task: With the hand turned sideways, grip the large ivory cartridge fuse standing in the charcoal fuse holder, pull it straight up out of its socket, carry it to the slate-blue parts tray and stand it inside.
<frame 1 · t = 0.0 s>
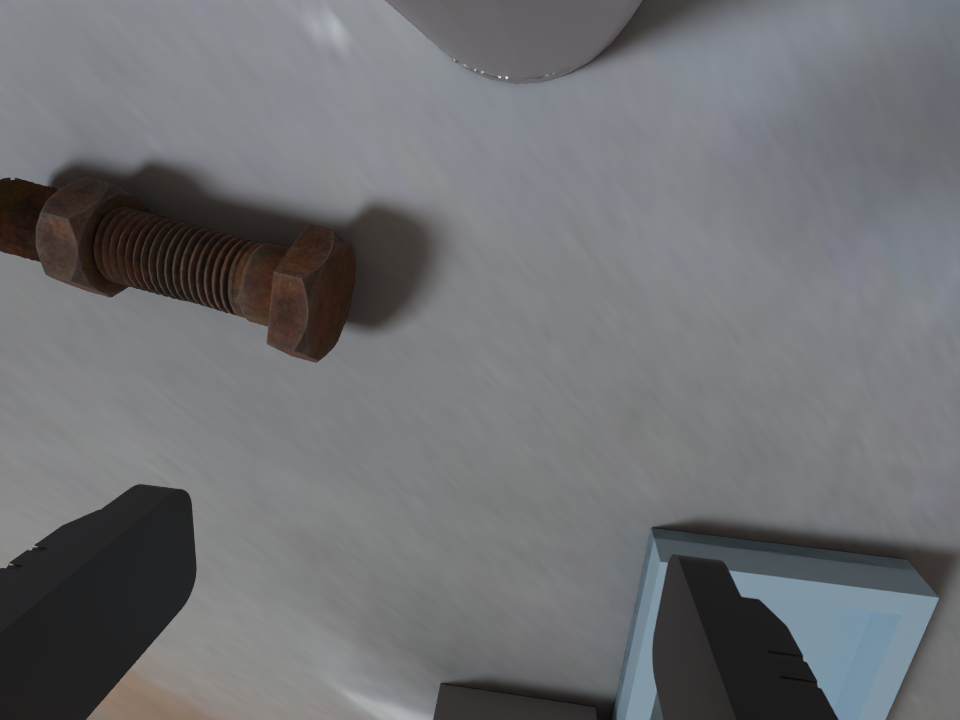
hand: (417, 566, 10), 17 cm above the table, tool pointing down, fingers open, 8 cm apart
parts tray: (743, 652, 31), on the table
bolt: (198, 244, 27), on the table
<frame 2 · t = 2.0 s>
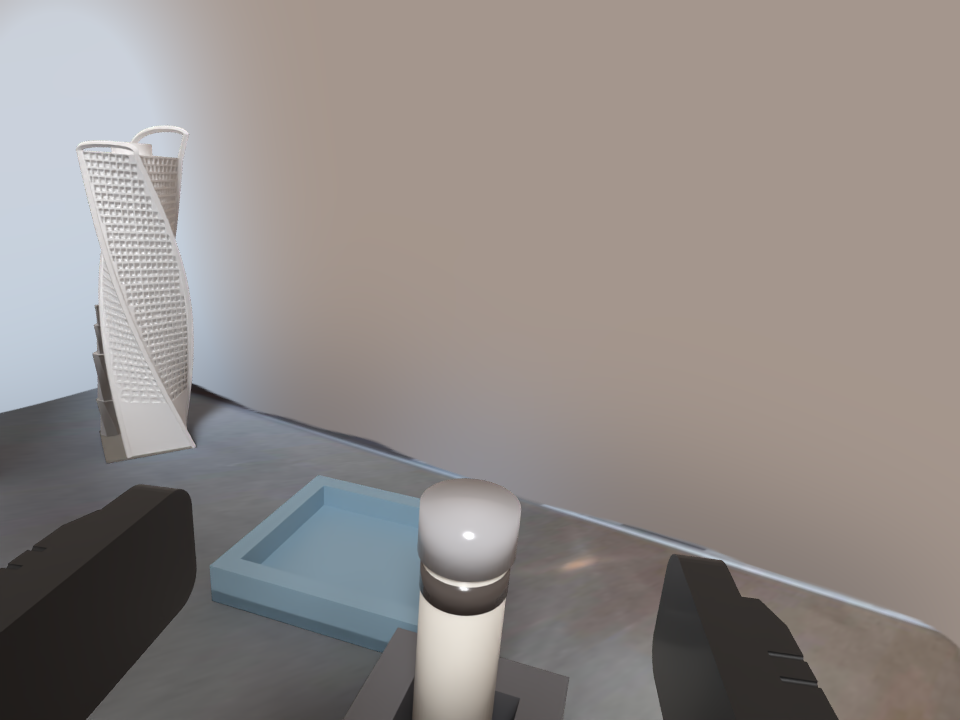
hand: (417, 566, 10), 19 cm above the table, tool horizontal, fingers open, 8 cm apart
fuse: (457, 653, 24), in the fuse holder
parts tray: (363, 569, 39), on the table
skyscraper: (157, 445, 54), on the table
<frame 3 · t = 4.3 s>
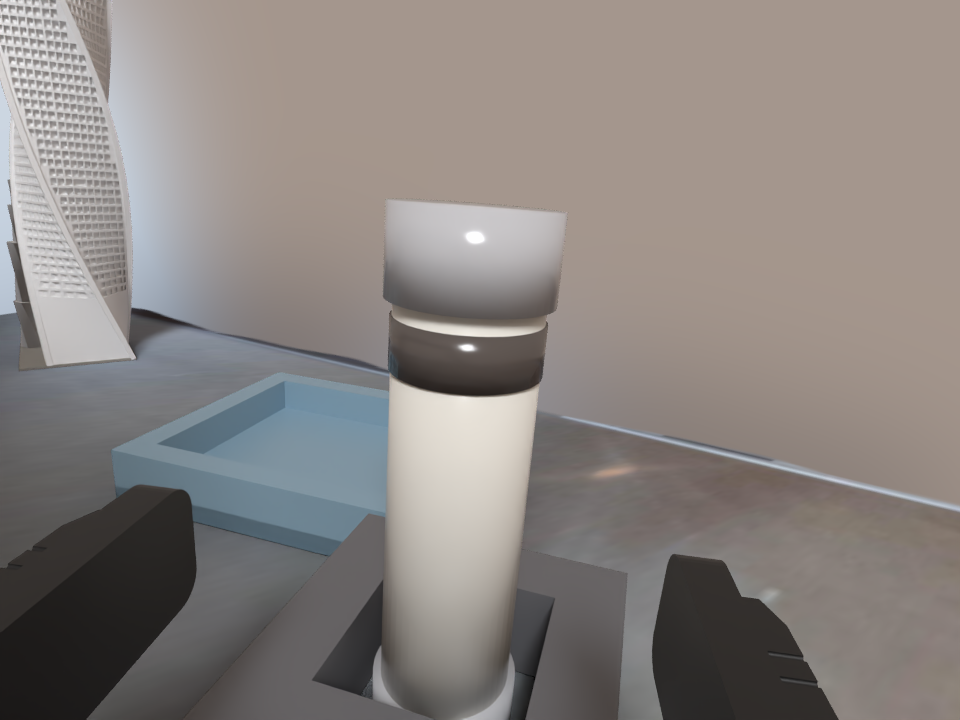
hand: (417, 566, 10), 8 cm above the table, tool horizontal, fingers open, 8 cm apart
fuse: (456, 500, 14), in the fuse holder
parts tray: (330, 473, 29), on the table
skyscraper: (90, 359, 45), on the table
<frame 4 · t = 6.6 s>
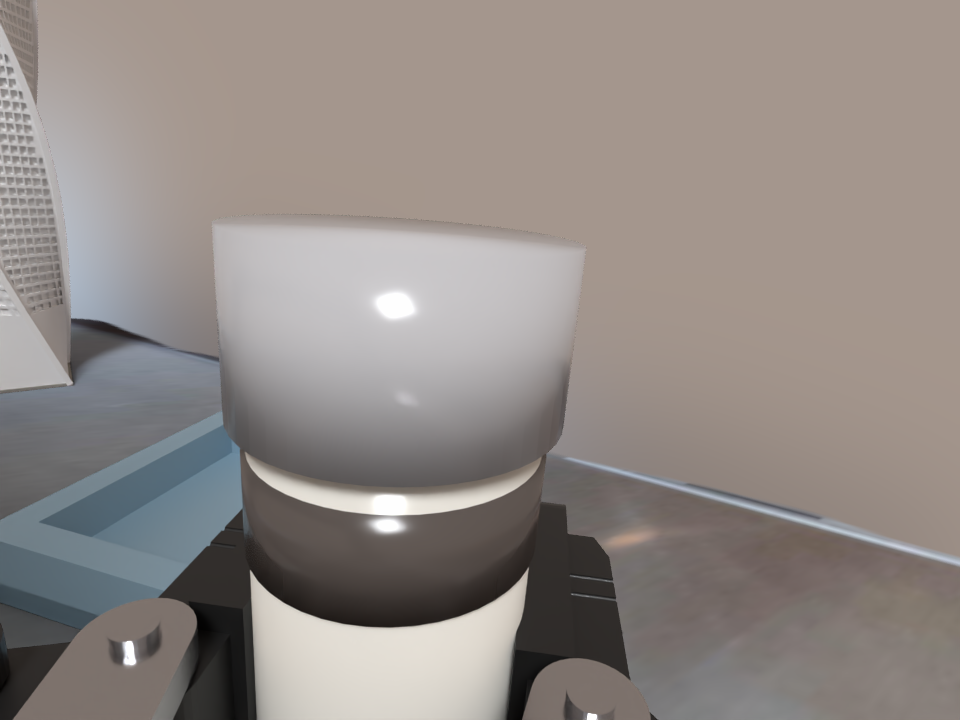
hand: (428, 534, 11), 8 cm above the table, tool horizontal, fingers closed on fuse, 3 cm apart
parts tray: (275, 546, 23), on the table
skyscraper: (21, 384, 39), on the table
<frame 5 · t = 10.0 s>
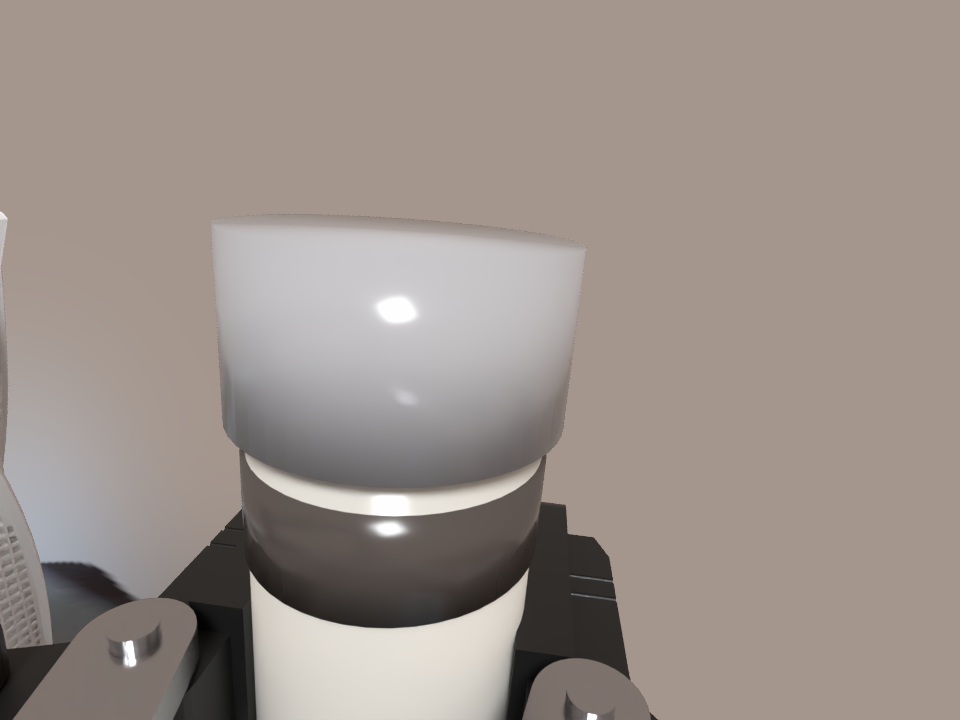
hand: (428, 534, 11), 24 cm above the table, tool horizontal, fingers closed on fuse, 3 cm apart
when the fingers open (11 cm above the table, at t = 13.2 s): fuse drops 1 cm, resting on parts tray.
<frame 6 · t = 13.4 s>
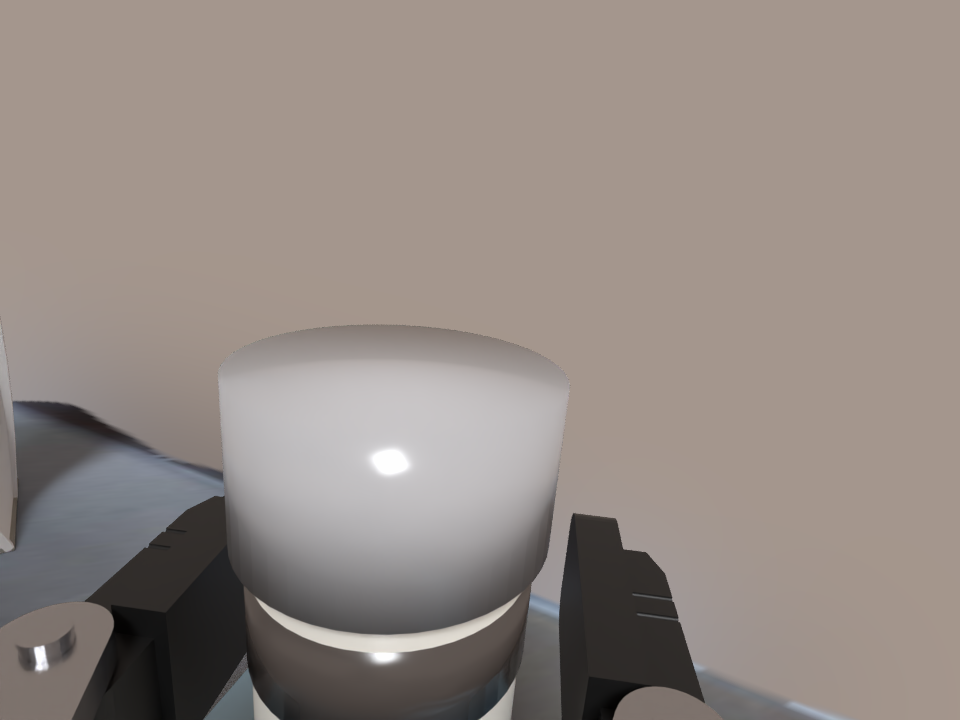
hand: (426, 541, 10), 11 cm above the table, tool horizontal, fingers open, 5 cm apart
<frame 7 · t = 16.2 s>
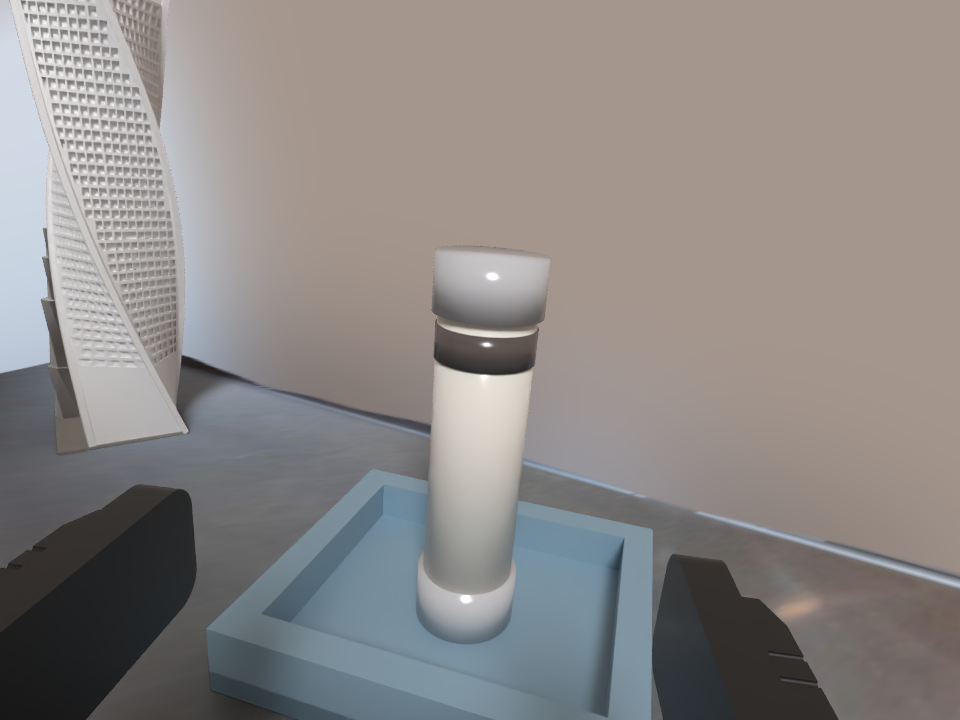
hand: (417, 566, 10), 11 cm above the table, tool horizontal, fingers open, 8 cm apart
fuse: (477, 447, 21), in the parts tray, point 8 cm above the table
parts tray: (462, 623, 23), on the table
skyscraper: (134, 431, 39), on the table
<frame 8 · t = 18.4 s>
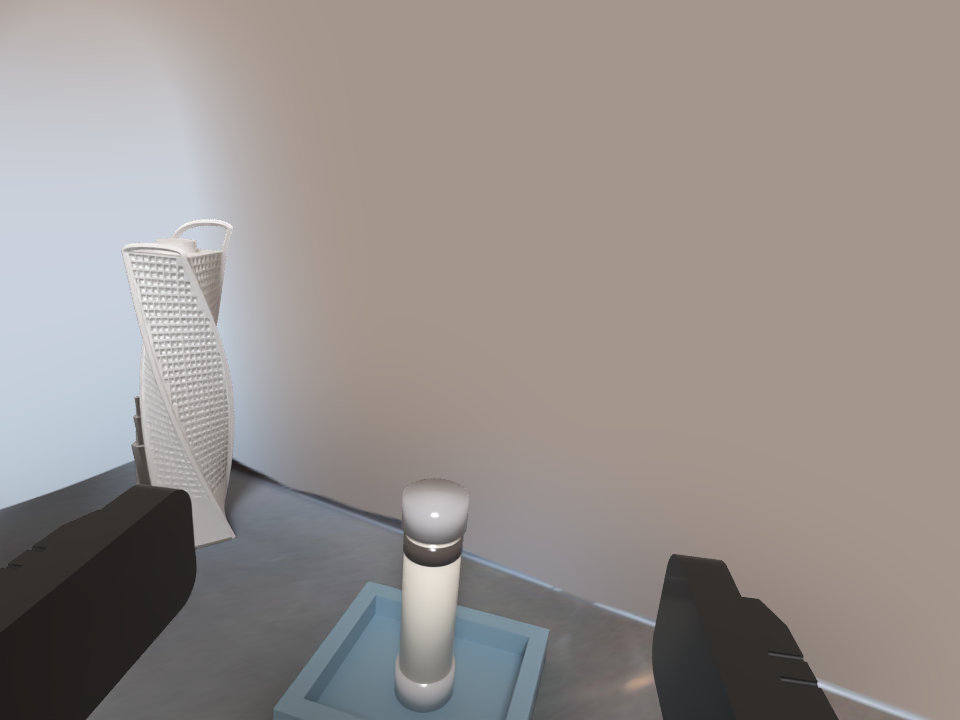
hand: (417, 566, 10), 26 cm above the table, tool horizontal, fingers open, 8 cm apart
fuse: (429, 596, 36), in the parts tray, point 8 cm above the table
parts tray: (423, 696, 38), on the table
skyscraper: (195, 534, 53), on the table
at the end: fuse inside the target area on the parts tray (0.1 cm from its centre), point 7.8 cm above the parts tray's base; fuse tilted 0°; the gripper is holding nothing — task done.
